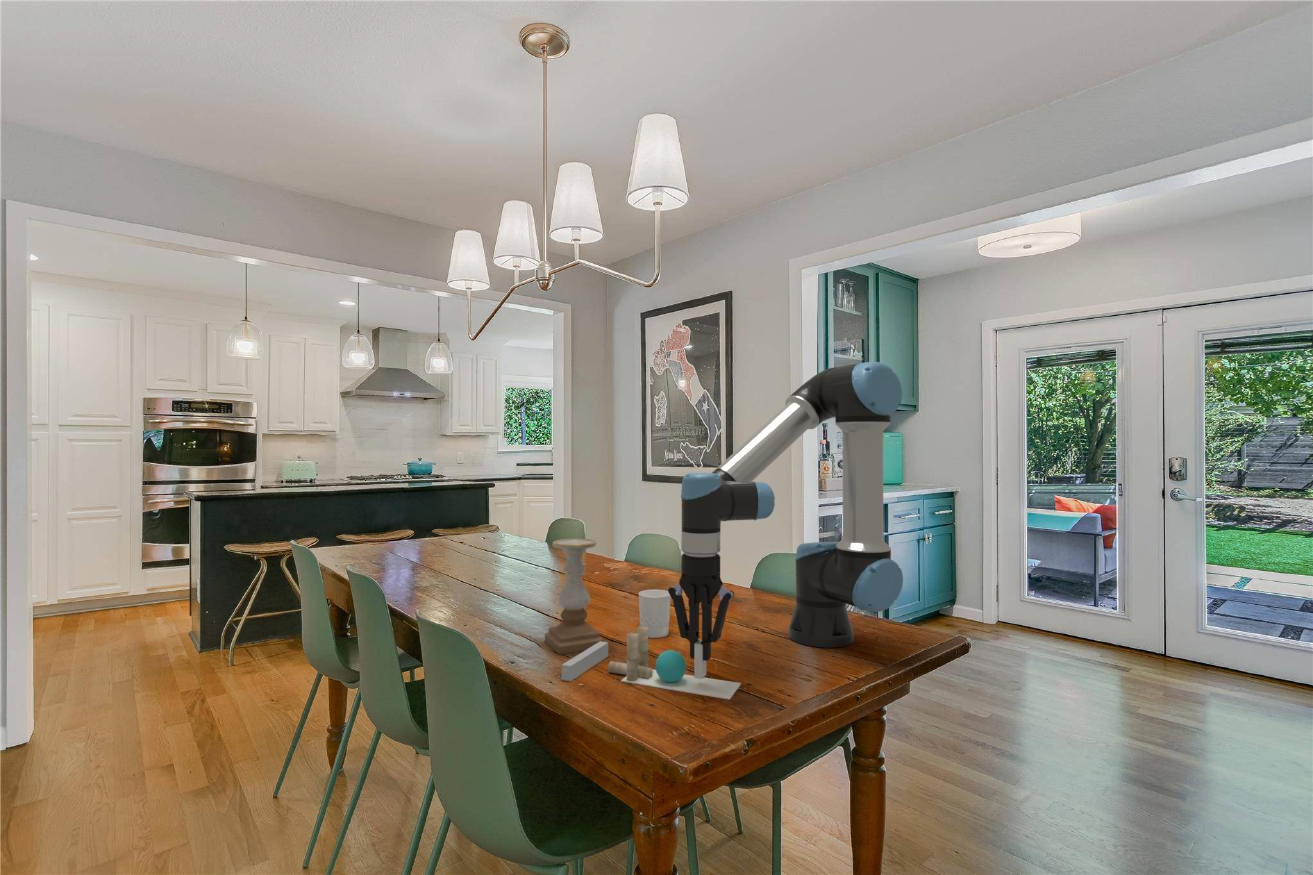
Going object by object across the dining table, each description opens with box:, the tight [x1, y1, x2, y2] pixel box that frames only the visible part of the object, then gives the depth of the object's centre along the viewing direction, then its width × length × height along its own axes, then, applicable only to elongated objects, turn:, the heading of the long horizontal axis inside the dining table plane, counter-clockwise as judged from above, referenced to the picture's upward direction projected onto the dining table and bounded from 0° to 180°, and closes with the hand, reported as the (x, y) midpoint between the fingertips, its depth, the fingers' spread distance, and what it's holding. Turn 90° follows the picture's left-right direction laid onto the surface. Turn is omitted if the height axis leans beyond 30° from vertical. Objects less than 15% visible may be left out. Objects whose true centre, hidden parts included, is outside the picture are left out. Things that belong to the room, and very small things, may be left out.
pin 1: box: [626, 632, 638, 681], centre depth 122 cm, size 2×2×9 cm
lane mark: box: [620, 668, 742, 700], centre depth 121 cm, size 22×8×1 cm, turn 67°
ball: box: [655, 649, 687, 683], centre depth 122 cm, size 6×6×6 cm
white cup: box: [638, 589, 672, 639], centre depth 153 cm, size 8×8×10 cm
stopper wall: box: [561, 641, 609, 682], centre depth 129 cm, size 2×16×3 cm, turn 157°
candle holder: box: [544, 538, 605, 656], centre depth 144 cm, size 11×11×24 cm
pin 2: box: [636, 625, 649, 667], centre depth 127 cm, size 2×2×9 cm
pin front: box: [607, 660, 654, 679], centre depth 125 cm, size 2×2×9 cm
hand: (700, 676), depth 120 cm, fingers closed
